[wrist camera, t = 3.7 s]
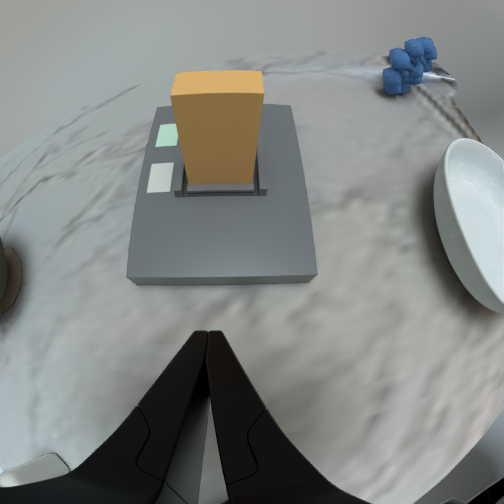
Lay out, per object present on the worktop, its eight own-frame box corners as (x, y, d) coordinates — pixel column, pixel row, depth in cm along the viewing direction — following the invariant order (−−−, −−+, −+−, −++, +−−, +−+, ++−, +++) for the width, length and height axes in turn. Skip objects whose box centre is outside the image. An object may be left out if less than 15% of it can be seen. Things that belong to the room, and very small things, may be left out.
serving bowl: (422, 141, 30) (446, 109, 23) (513, 222, 27) (540, 203, 21) (391, 270, 23) (435, 243, 17) (502, 349, 21) (542, 342, 14)
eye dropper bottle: (27, 451, 14) (-49, 473, 2) (62, 452, 15) (-20, 487, 4) (45, 486, 12) (-21, 521, 1) (82, 490, 14) (15, 539, 2)
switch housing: (308, 282, 22) (321, 270, 19) (137, 284, 21) (121, 273, 18) (286, 121, 28) (292, 98, 25) (161, 123, 27) (155, 100, 24)
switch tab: (253, 191, 21) (266, 100, 13) (187, 192, 21) (166, 102, 12) (251, 156, 23) (262, 66, 14) (190, 157, 22) (176, 68, 13)
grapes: (395, 74, 36) (419, 25, 24) (423, 98, 34) (452, 49, 23) (356, 79, 33) (381, 17, 22) (388, 107, 31) (421, 44, 20)
